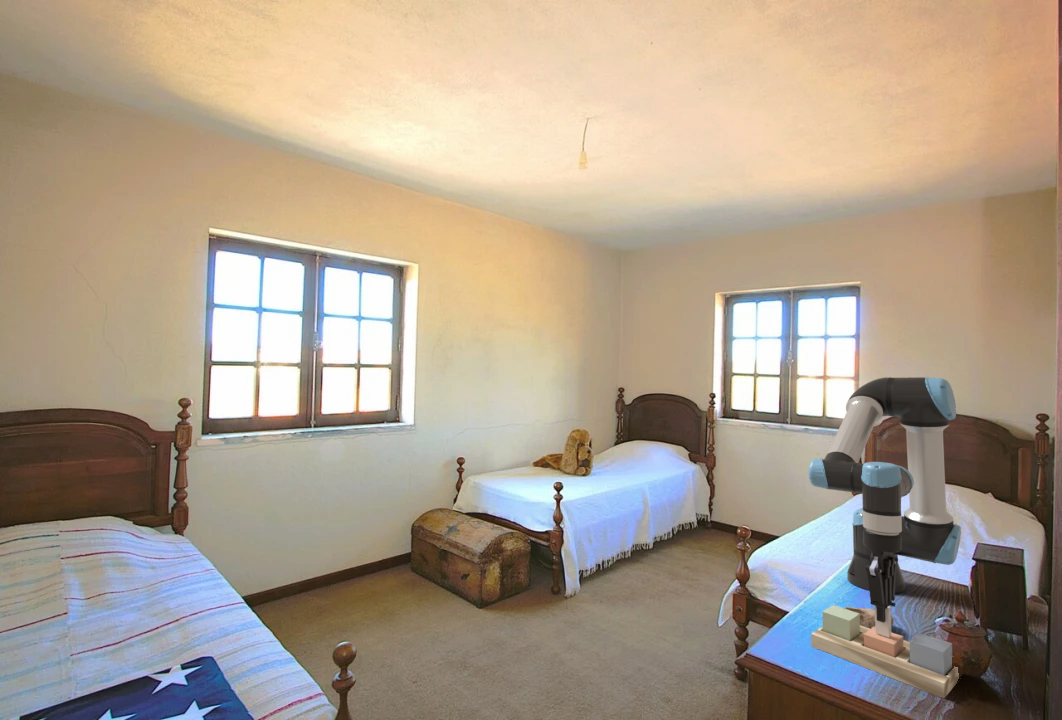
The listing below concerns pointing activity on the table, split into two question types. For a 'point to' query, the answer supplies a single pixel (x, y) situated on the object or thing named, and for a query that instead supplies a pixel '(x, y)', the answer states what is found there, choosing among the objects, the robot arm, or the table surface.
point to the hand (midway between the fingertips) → (883, 634)
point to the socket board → (885, 662)
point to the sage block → (841, 622)
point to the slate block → (931, 653)
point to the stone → (866, 616)
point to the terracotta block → (884, 643)
